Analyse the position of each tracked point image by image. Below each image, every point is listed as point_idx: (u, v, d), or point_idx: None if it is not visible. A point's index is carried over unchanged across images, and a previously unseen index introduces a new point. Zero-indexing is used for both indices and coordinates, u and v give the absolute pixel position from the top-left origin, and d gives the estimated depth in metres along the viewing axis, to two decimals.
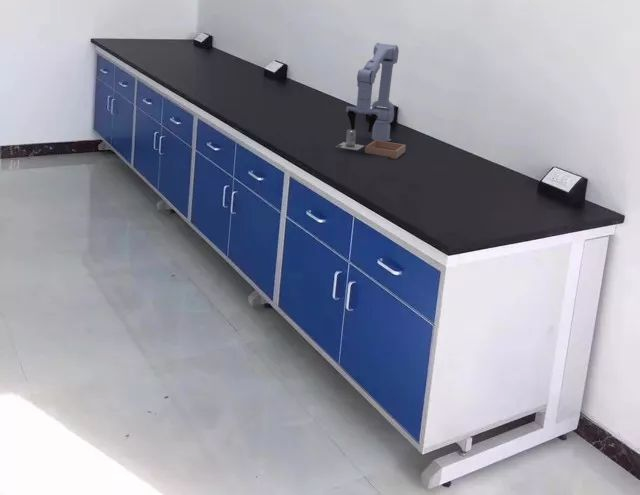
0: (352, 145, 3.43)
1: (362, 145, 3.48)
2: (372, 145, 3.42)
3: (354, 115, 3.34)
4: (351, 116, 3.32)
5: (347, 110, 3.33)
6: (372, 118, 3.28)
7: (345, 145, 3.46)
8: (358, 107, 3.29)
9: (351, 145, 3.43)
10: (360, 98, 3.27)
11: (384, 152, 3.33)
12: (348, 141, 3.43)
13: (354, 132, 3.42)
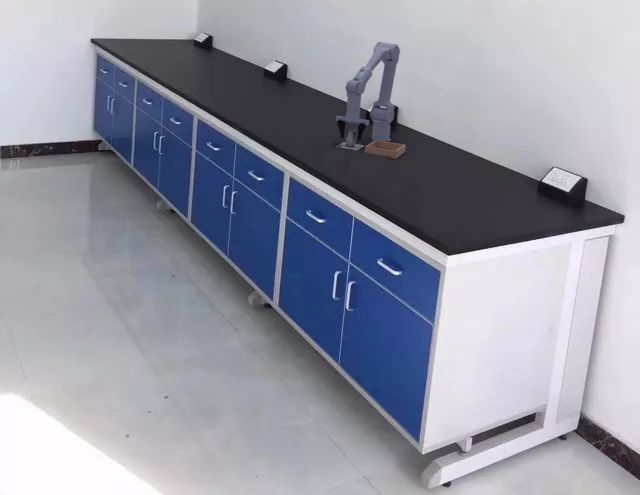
0: (352, 145, 3.43)
1: (362, 145, 3.48)
2: (372, 145, 3.42)
3: (344, 124, 3.43)
4: (341, 125, 3.41)
5: (337, 119, 3.43)
6: (361, 127, 3.38)
7: (345, 145, 3.46)
8: (347, 116, 3.39)
9: (351, 145, 3.43)
10: (348, 107, 3.38)
11: (384, 152, 3.33)
12: (348, 141, 3.43)
13: (354, 132, 3.42)
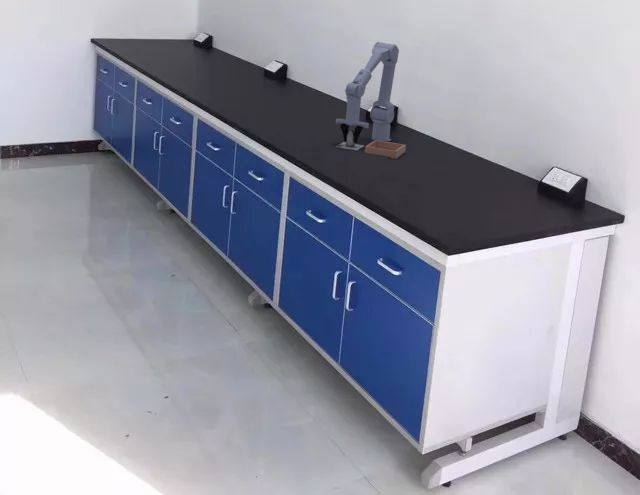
0: (352, 145, 3.43)
1: (362, 145, 3.48)
2: (372, 145, 3.42)
3: (347, 128, 3.43)
4: (344, 129, 3.41)
5: (337, 122, 3.43)
6: (357, 130, 3.39)
7: (345, 145, 3.46)
8: (347, 119, 3.39)
9: (351, 145, 3.43)
10: (348, 110, 3.38)
11: (384, 152, 3.33)
12: (348, 141, 3.43)
13: (354, 132, 3.42)
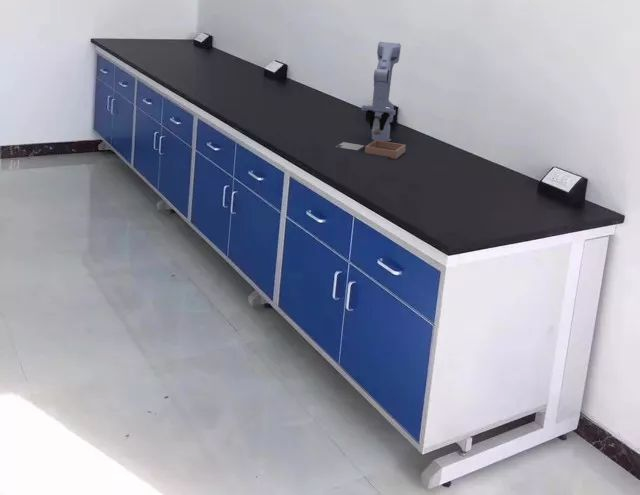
0: (378, 132, 3.37)
1: (362, 145, 3.48)
2: (372, 145, 3.42)
3: (373, 114, 3.37)
4: (370, 115, 3.35)
5: (363, 109, 3.37)
6: (384, 116, 3.33)
7: (345, 145, 3.46)
8: (374, 106, 3.33)
9: (377, 132, 3.37)
10: (377, 97, 3.31)
11: (384, 152, 3.33)
12: (374, 128, 3.37)
13: (380, 119, 3.35)
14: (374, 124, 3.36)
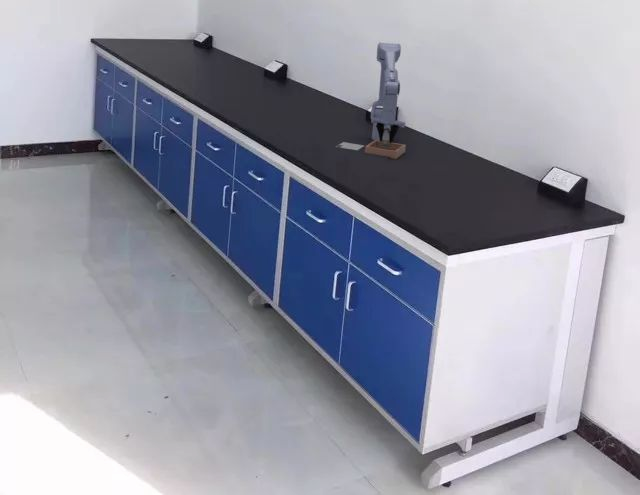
0: (388, 145, 3.37)
1: (362, 145, 3.48)
2: (372, 145, 3.42)
3: (382, 127, 3.37)
4: (380, 128, 3.35)
5: (372, 121, 3.37)
6: (394, 129, 3.33)
7: (345, 145, 3.46)
8: (383, 118, 3.33)
9: (387, 145, 3.37)
10: (388, 110, 3.31)
11: (384, 152, 3.33)
12: (384, 141, 3.37)
13: (390, 131, 3.36)
14: (384, 136, 3.36)
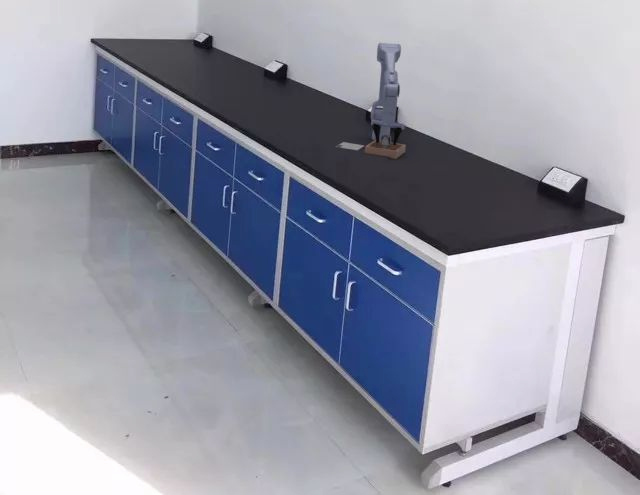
0: None
1: (362, 145, 3.48)
2: (372, 145, 3.42)
3: (379, 128, 3.38)
4: (376, 129, 3.36)
5: (372, 123, 3.37)
6: (397, 131, 3.33)
7: (345, 145, 3.46)
8: (383, 120, 3.34)
9: None
10: (388, 112, 3.31)
11: (384, 152, 3.33)
12: (383, 147, 3.38)
13: (389, 138, 3.37)
14: (383, 143, 3.37)
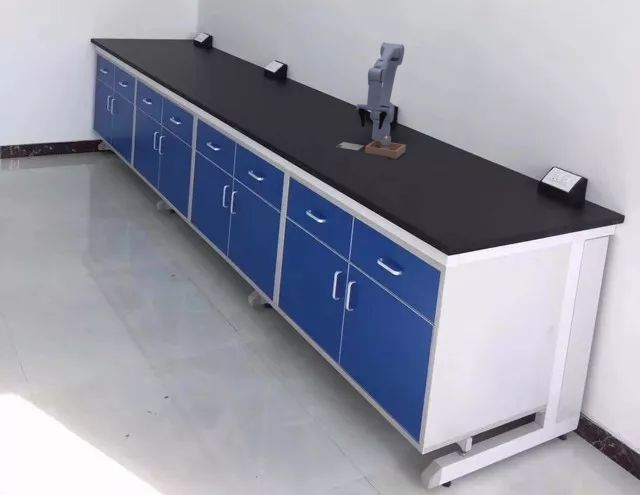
0: None
1: (362, 145, 3.48)
2: (372, 145, 3.42)
3: (364, 113, 3.43)
4: (361, 113, 3.41)
5: (357, 108, 3.42)
6: (382, 115, 3.38)
7: (345, 145, 3.46)
8: (368, 105, 3.38)
9: None
10: (371, 96, 3.36)
11: (384, 152, 3.33)
12: (383, 147, 3.38)
13: (389, 138, 3.37)
14: (383, 143, 3.37)
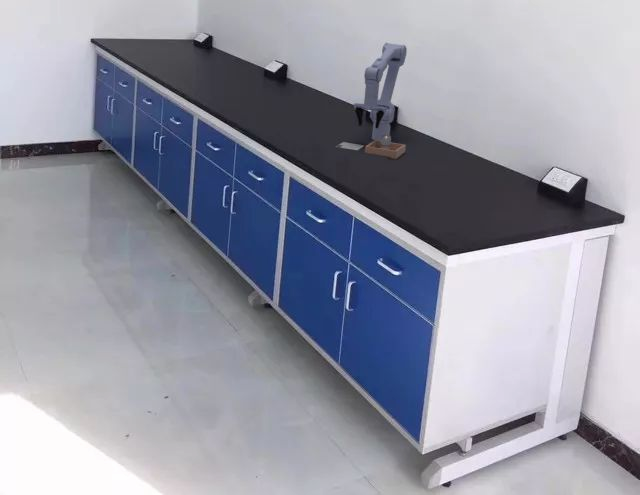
0: None
1: (362, 145, 3.48)
2: (372, 145, 3.42)
3: (361, 112, 3.44)
4: (359, 112, 3.42)
5: (355, 107, 3.43)
6: (379, 114, 3.39)
7: (345, 145, 3.46)
8: (365, 104, 3.39)
9: None
10: (367, 95, 3.38)
11: (384, 152, 3.33)
12: (383, 147, 3.38)
13: (389, 138, 3.37)
14: (383, 143, 3.37)
